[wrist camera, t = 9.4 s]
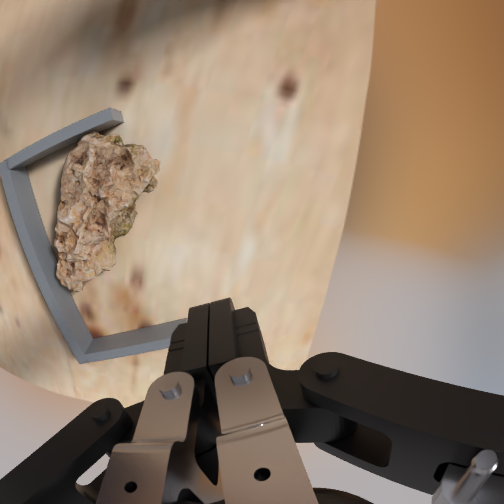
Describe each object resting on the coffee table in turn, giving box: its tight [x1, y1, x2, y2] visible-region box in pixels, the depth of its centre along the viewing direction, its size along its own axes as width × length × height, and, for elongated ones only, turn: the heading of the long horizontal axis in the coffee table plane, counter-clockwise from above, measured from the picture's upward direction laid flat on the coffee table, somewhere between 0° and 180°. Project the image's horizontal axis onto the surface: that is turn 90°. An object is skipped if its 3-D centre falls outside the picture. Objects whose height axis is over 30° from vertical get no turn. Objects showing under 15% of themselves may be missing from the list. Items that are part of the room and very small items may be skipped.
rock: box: [54, 131, 160, 292], centre depth 29 cm, size 17×5×10 cm
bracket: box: [0, 108, 187, 364], centre depth 29 cm, size 14×25×4 cm, turn 14°
